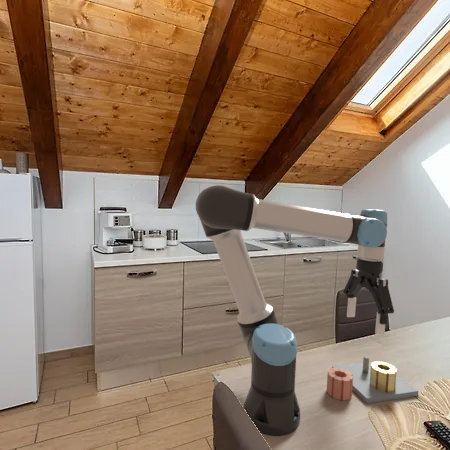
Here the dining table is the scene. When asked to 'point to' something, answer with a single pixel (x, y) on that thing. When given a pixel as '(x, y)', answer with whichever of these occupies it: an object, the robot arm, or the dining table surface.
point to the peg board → (367, 391)
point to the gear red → (339, 383)
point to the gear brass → (383, 377)
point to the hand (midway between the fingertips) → (364, 324)
